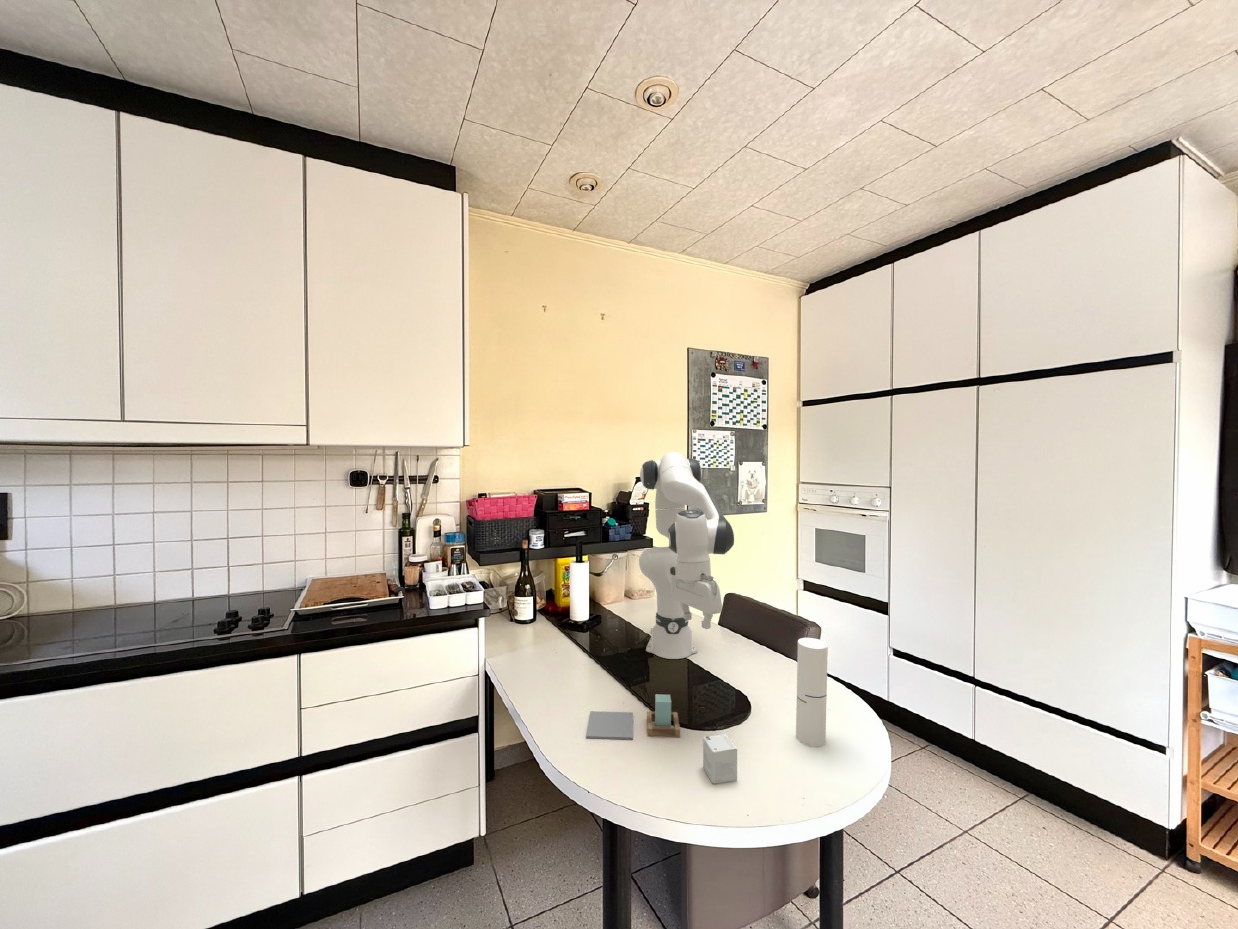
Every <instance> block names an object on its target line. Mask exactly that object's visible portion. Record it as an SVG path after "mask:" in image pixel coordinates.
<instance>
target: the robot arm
mask: <svg viewBox="0 0 1238 929" xmlns="http://www.w3.org/2000/svg"><path fill="white" fill-rule="evenodd" d="M639 472H640V473H639V478H640V481H641V483H642V486H643V487H644V488H645V489H647V490H651V491H653V490H656V491H655V499H654V500H655V503H654V504H655V528H656V530H657V532H658V533H659V534H660V535H661V536H664V537H665V538H667V539H668V546H660V547H658V546H657V547H652V548H649V549H645V550H643V551H642V552H641V554H640V556H639V560H638V566H639V570H640V571H641V573H642V575H643V576H644V577H646V578H648V579H649V581H651V583H652V585H653V586H654V589H655V592H656V612H655V624H654V626H653V627H651V628H650V630H649V632H650V635H651V636H650V638H649V641H648V643H647V645H646V649H645V651H646V652H647V653H652V654H654V655H656V656H658V657H660V658H663V659H669V660H679V659H684V658H688V657H689V656H691V655H692V654H696V653H698V649H697V647H696V646H695V645H694V644H693V630H692V628H691V627H690V626H689V621H690V620H692V618H693V617H692V616H693V615H692V612H691V611H690V608H693V609H696V610H697V611H700V612H702V616H703V620H701V627H702V629H705V630H709V629H711V626H712V625H711V622H712V619H713V617H714V615H716V614H720V613H721V612H722V610H723V604H722V603H723V602H722V597H721V591H720V587H719V585H718V582H717V581H716V580H715V577H714V576H712V572H711V571H712V570H711V557H710V555H709V554H711V555H712V554H713V555H725V554H727V553H728V552H729V551H730V550H731V549H732V548H733V546H734V544H735V534H734V529H733V527H732V525H731V523H730V522H729V521H728V520H727V518H726V517H725V516H724V514H723V512H722V510H721V509H720V506H719V504H718V503H717V501H716V500H715V497H714V495H713V494H712V492H711V491H710V489H709V488H708V486H706V484H703V483H702V482H701V480H702V477H703V470H702V466H701V464H700V462H699V461H698V460H697V459H695V458H690V457H689V458H686V457H685V455H684V454H683V453H681V452H679V451H670V452H667V453H665V454H664V455H663V456H662V458H660V459H657V460H653V459H651V460H647V461H645V462H644V463H643V464H642V466H641V469H640V471H639ZM686 506H689V507H693V508H697V509H698V510H697V509H686Z"/></svg>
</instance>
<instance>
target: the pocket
mask: <svg viewBox="0 0 1238 929" xmlns="http://www.w3.org/2000/svg"><path fill="white" fill-rule="evenodd" d="M678 715H679V714H678V712H677V711H671V721H673V722H672V724H673V726H671V727H662V726H655V725H653V722H655V711H646V730H647V732H646V733H647V737H656V738H657V737H658V738H659V737H662V738H663V737H664V738H680V737H681V728H680V722H679V716H678Z"/></svg>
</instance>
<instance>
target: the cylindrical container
mask: <svg viewBox="0 0 1238 929" xmlns="http://www.w3.org/2000/svg"><path fill="white" fill-rule="evenodd" d="M828 647H829V646H828V643H827V642H826V641H824V640H821V639H819V638H813V637H802V638H799V639H798V640H797V659H796V660H797V665H796V667H797V669H796V671H797V672H796V707H795V708H796V709H795V710H796V712H795V713H796V714H795V715H796V716H795V718H796V719H795V738H796V740H797V741H799V742H800V743H801V744H803V745H805V746H807V747H812V748H822V747H824V745H826V739H827V738H826V737H827V735H826V734H827V733H826V732H827V731H826V730H827V700H828V699H827V697H828V696H827V693H828V692H827V690H828V688H827V687H828V652H829V651H828V649H829V648H828Z"/></svg>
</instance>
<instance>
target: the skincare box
mask: <svg viewBox="0 0 1238 929" xmlns="http://www.w3.org/2000/svg"><path fill="white" fill-rule="evenodd" d="M702 739H703V740H702V742H703V743H702V768H703V771H704V772H705V774H706V775H707V777H708V778H709V780H710V781H711V783H712V784H713V785H714V784H721V783H730V782H734V781H737V780H738V748H737V747H736V745H735V743H733V741H732V740H731V738H730V737H729V736H728V734H726V733H724V734H715V735H708V736H703V737H702Z"/></svg>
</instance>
